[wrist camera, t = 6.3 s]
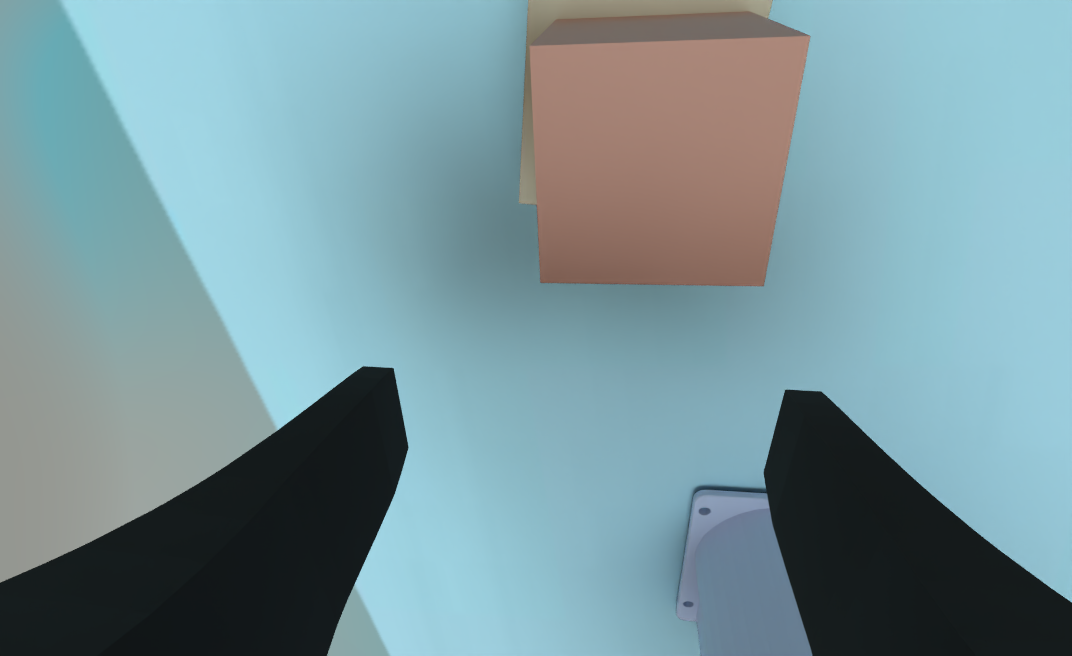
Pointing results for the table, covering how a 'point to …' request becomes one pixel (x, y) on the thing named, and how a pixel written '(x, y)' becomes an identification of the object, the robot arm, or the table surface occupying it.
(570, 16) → the tower top
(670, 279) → the block
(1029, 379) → the table surface
